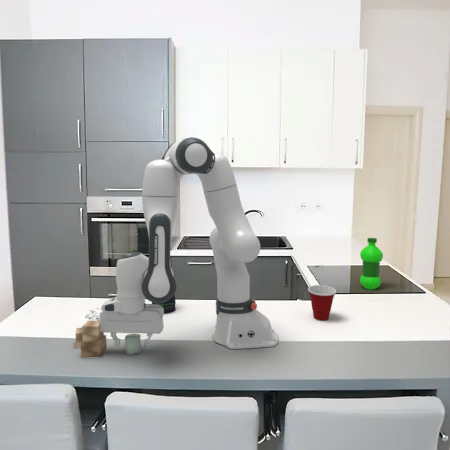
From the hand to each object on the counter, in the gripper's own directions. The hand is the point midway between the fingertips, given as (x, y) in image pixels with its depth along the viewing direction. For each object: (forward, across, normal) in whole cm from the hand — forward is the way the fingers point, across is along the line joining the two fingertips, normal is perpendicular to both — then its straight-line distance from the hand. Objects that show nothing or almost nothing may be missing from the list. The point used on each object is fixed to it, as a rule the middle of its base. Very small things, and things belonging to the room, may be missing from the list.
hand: (132, 345), depth 131 cm
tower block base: (+2, +12, +2) cm, 12 cm away
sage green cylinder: (+2, 0, 0) cm, 2 cm away
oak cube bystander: (+2, +18, -5) cm, 19 cm away
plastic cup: (+2, -66, -33) cm, 74 cm away
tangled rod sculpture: (+3, +17, -32) cm, 37 cm away
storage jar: (+2, -2, -40) cm, 40 cm away
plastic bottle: (+1, -99, -77) cm, 125 cm away
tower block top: (-3, +12, +2) cm, 12 cm away
